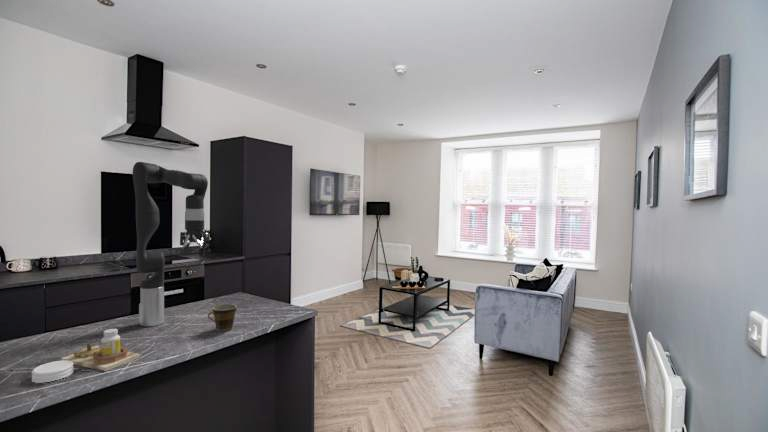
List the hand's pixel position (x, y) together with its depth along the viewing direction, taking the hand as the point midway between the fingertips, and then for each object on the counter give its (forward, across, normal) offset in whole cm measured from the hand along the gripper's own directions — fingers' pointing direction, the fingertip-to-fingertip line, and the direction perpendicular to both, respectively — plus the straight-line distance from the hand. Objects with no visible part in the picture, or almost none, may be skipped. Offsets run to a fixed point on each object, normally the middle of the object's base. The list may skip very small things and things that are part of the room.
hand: (194, 255), depth 160 cm
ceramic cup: (+33, +11, +4) cm, 35 cm away
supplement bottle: (+32, -2, -35) cm, 47 cm away
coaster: (+34, -8, -49) cm, 60 cm away
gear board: (+33, -7, -35) cm, 49 cm away
